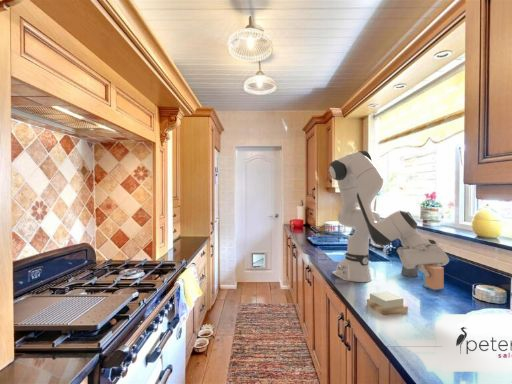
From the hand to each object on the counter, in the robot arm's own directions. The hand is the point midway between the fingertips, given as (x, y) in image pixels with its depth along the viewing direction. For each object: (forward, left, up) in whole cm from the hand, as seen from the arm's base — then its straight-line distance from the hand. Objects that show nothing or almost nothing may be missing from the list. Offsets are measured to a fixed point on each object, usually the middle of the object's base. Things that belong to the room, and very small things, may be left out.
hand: (435, 275), depth 116 cm
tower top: (-13, -12, -13) cm, 22 cm away
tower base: (-13, -12, -16) cm, 24 cm away
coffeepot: (-46, +43, -16) cm, 65 cm away
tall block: (-1, 0, -5) cm, 5 cm away
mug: (-25, +31, -16) cm, 43 cm away
